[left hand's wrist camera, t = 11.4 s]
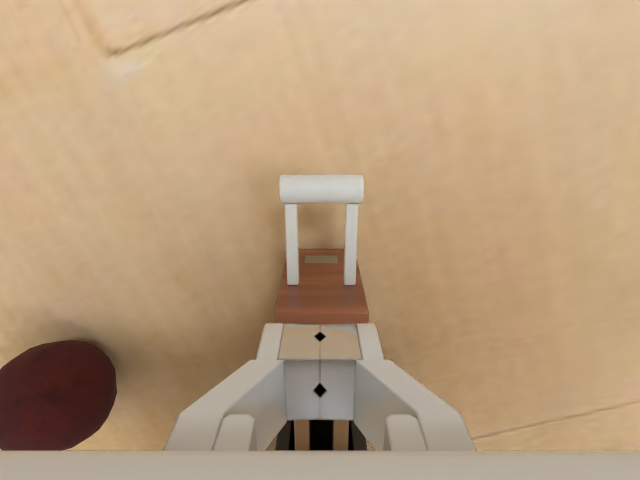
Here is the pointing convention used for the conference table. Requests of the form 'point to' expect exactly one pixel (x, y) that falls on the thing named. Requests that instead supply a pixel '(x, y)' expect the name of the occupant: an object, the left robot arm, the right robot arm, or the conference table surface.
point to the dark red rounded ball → (55, 396)
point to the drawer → (321, 283)
